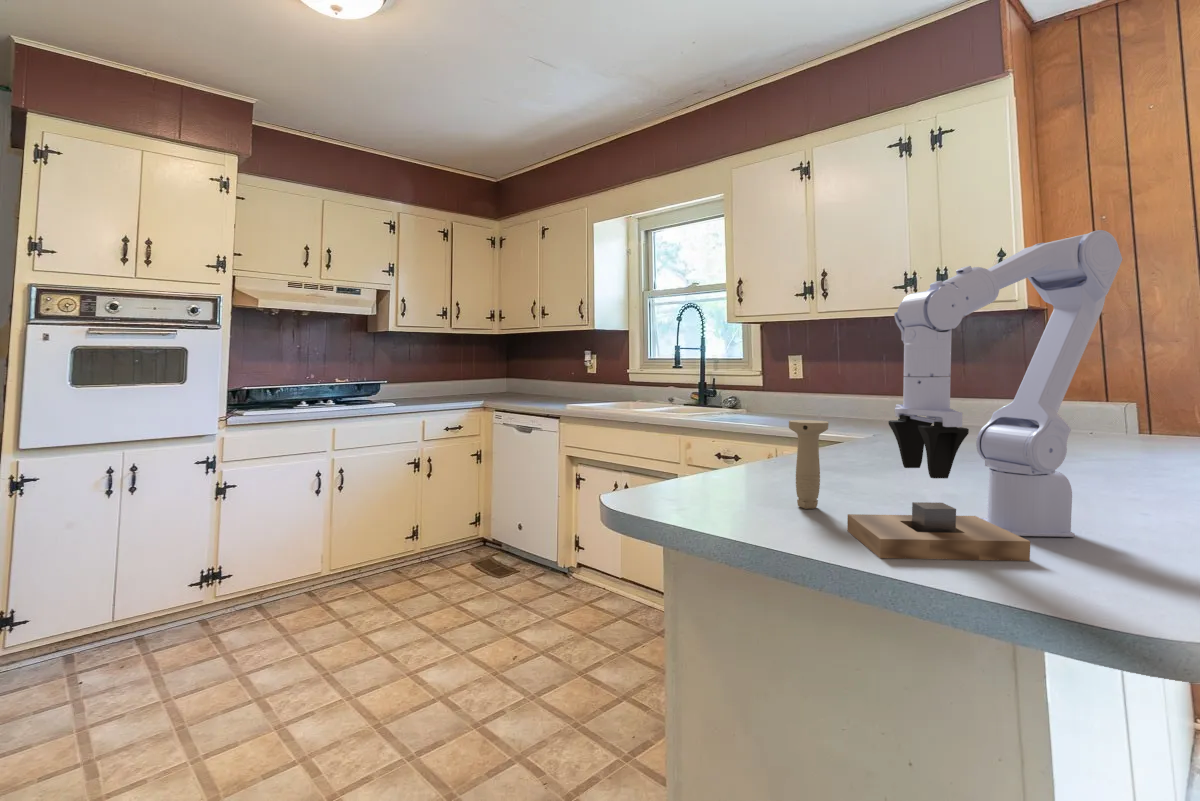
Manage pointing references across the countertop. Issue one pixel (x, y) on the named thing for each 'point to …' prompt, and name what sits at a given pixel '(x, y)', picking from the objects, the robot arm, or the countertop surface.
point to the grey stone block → (933, 517)
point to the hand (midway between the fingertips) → (924, 472)
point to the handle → (808, 460)
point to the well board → (937, 539)
